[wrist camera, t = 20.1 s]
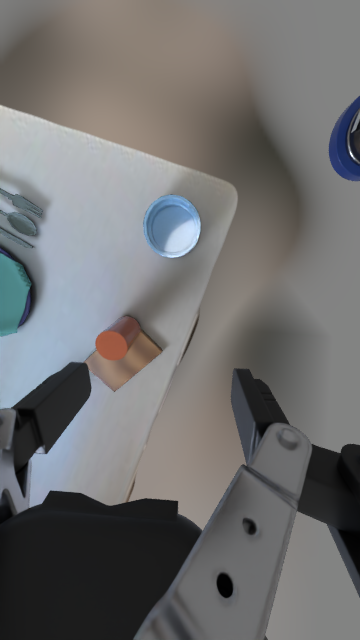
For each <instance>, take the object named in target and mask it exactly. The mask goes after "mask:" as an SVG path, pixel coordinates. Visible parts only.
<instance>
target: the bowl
mask: <svg viewBox="0 0 360 640" xmlns="http://www.w3.org/2000/svg"><path fill="white" fill-rule="evenodd" d="M143 227H144V235H145V238H146V240H147V243H148V244H149V246H150V247H151V248H152V249H153V250H154V251H155V252H156V253H158V254H160V255H161V256H164V257H169V258H177V257H182V256H184V255H186V254H187V253H189V252H190V251H191V250H192V249H193V248H194V247H195V245H196V244H197V241H198V239H199V236H200V228H201V221H200V218H199V215H198V211H197V210H196V208H195V207H194V206H193V204H192V203H191V202H190V201H188V200H187V199H185V198H184V197H182V196H178V195H172V194H171V195H166V196H162V197H160V198H158V199H157V200H156V201H154V202H153V203H152V204H151V205H150V207H149V208H148V210H147V211H146V214H145V218H144V222H143Z"/></svg>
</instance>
